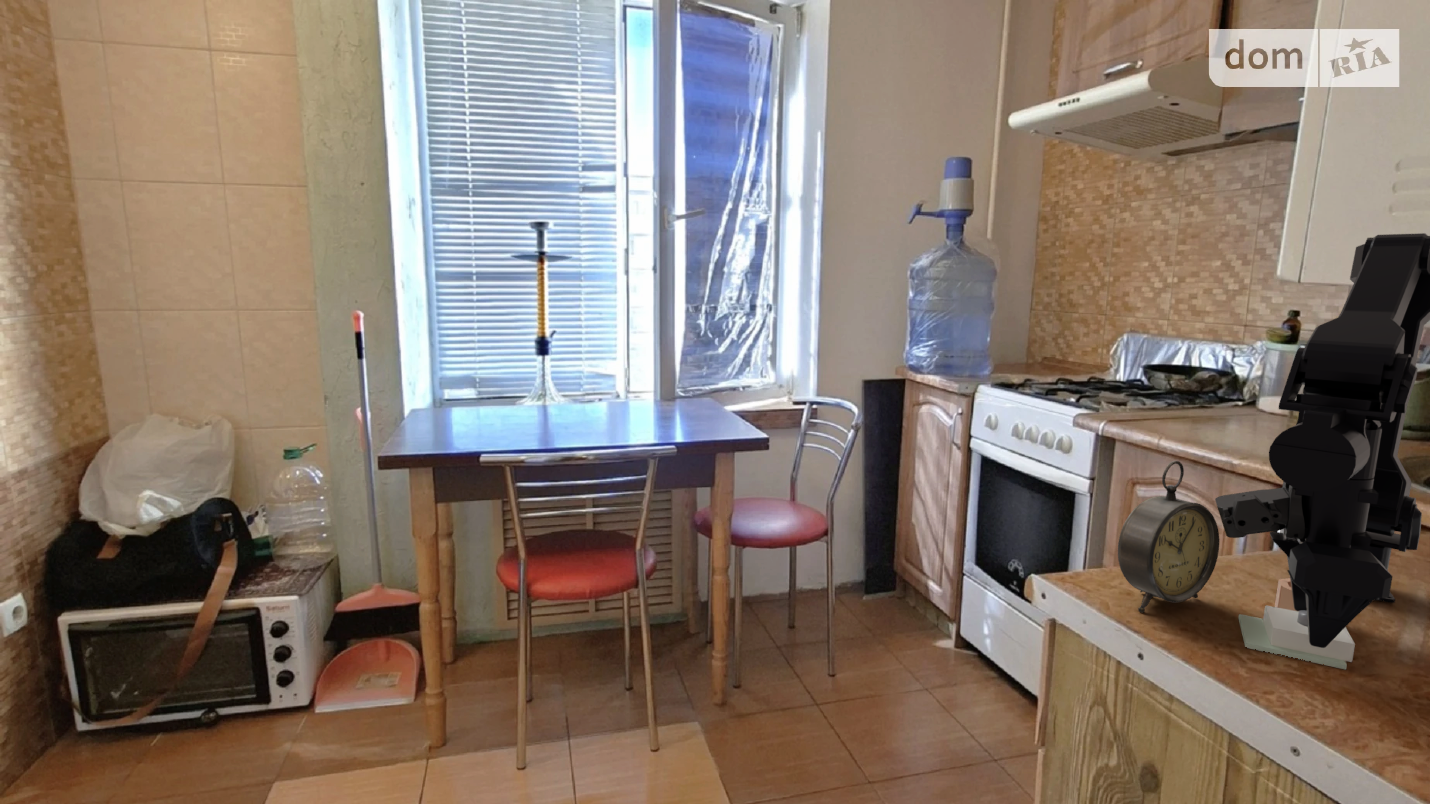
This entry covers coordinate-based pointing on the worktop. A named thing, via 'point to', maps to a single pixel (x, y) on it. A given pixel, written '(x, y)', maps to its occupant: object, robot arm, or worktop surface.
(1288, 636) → the cover
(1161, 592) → the alarm clock
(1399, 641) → the worktop surface
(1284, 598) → the bowl
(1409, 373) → the robot arm
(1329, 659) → the mat
